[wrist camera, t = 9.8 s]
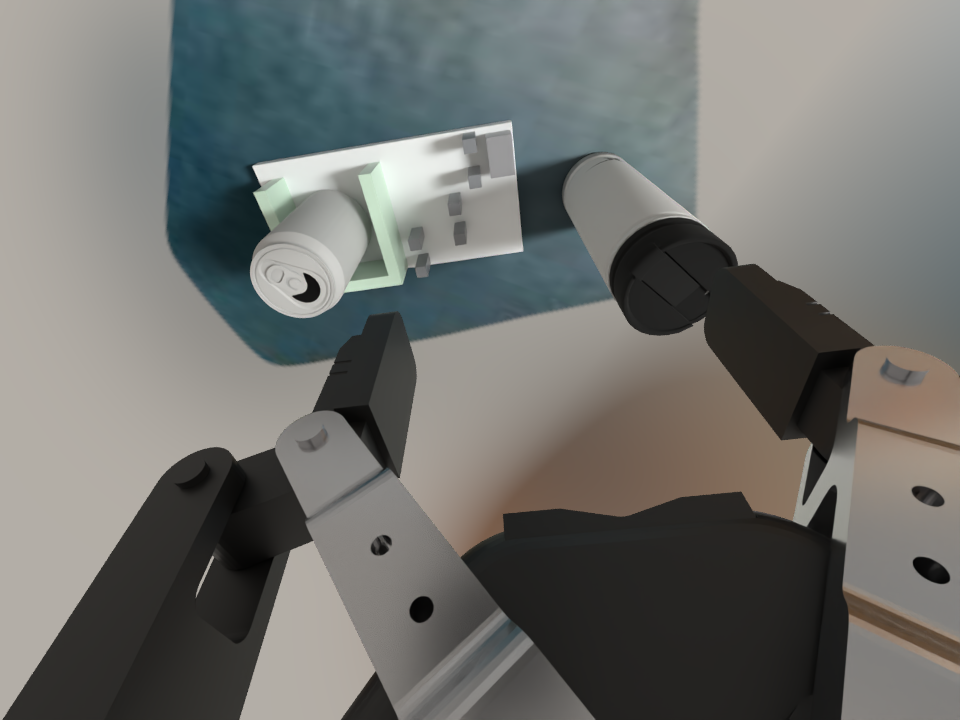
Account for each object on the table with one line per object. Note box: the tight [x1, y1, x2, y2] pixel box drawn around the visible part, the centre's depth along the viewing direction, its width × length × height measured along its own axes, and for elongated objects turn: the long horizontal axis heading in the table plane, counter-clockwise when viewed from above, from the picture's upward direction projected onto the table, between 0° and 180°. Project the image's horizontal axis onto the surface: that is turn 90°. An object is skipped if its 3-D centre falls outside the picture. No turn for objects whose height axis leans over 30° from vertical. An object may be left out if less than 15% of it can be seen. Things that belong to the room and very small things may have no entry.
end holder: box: [253, 161, 408, 293], centre depth 37 cm, size 10×10×4 cm
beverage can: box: [250, 190, 371, 318], centre depth 34 cm, size 6×6×12 cm
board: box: [252, 120, 523, 278], centre depth 37 cm, size 11×22×4 cm, turn 98°
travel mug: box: [562, 152, 738, 336], centre depth 30 cm, size 6×7×20 cm
